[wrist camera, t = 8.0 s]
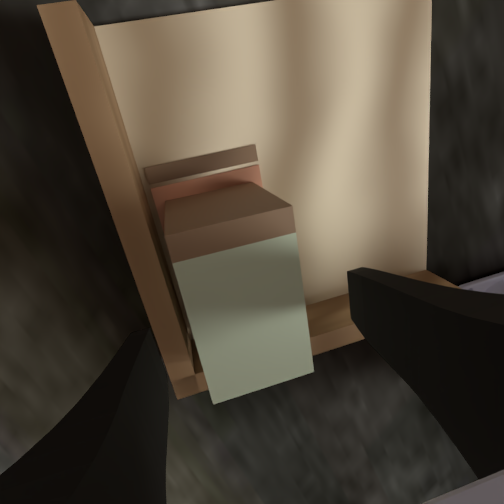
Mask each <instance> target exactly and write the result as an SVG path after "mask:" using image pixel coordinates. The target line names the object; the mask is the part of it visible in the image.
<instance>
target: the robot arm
mask: <svg viewBox="0 0 504 504" xmlns="http://www.w3.org/2000/svg"><path fill="white" fill-rule="evenodd" d="M347 279H348V292H349V304H350V316H351V319H352V321H353V322H354V324H355V325H356V327H357V328H358V330H359V331H360V332H361V334H362V335H363V337H364V338H365V339H366V340H367V341H368V343H369V344H370V345H371V346H372V347H373V348H374V349H375V350H376V351H377V352H378V353H379V354H380V355H381V357H382V358H383V359H384V360H385V361H386V362H387V363H388V364H389V365H390V366H391V367H392V368H393V369H394V370H395V371H396V372H397V373H398V374H399V375H400V376H401V378H402V379H403V380H404V381H405V382H406V383H407V384H408V385H409V386H410V387H411V388H412V390H413V391H414V392H415V393H416V394H417V395H418V397H419V398H420V399H421V400H422V402H423V403H424V404H425V406H426V407H427V408H428V409H429V411H430V412H431V413H432V415H433V416H434V417H435V418H436V420H437V421H438V422H439V424H440V425H441V427H442V428H443V429H444V431H445V432H446V433H447V435H448V436H449V437H450V439H451V440H452V442H453V443H454V444H455V446H456V447H457V448H458V450H459V451H460V453H461V454H462V456H463V457H464V459H465V460H466V461H467V463H468V464H469V466H470V467H471V469H472V470H473V472H474V473H475V474H476V476H477V477H478V479H479V480H477V481H475V482H473V483H470V484H468V485H465V486H463V487H461V488H458V489H456V490H453V491H451V492H448V493H446V494H444V495H441V496H439V497H436V498H434V499H432V500H429V501H427V502H424V503H422V504H504V272H500V273H497V274H494V275H491V276H488V277H484V278H481V279H478V280H475V281H472V282H468V283H465V284H462V285H459V286H458V287H459V288H461V289H459V288H453V287H448V286H443V285H438V284H433V283H428V282H424V281H420V280H416V279H411V278H408V277H404V276H400V275H396V274H392V273H388V272H384V271H380V270H376V269H371V268H366V267H360V268H357V269H353V270H350V271H347ZM168 414H169V396H168V384H167V374H166V372H165V369H164V366H163V363H162V361H161V358H160V355H159V352H158V349H157V347H156V344H155V341H154V338H153V335H152V333H151V330H150V328H146V329H143V330H139V331H136V332H132V333H131V334H130V335H129V336H128V338H127V339H126V340H125V342H124V343H123V345H122V346H121V348H120V349H119V350H118V352H117V353H116V355H115V356H114V357H113V359H112V360H111V361H110V363H109V364H108V365H107V367H106V368H105V370H104V371H103V372H102V374H101V375H100V376H99V377H98V378H97V380H96V381H95V382H94V383H93V385H92V386H91V387H90V388H89V390H88V391H87V392H86V393H85V394H84V396H83V397H82V398H81V399H80V400H79V402H78V403H77V404H76V405H75V406H74V407H73V408H72V409H71V410H70V411H69V412H68V413H67V415H66V416H65V417H64V418H63V419H62V420H61V421H60V422H59V423H58V424H57V425H56V426H55V427H54V428H53V429H52V430H51V431H50V432H49V433H48V434H46V435H45V436H44V437H43V438H42V439H41V440H40V441H39V442H38V443H37V444H35V445H34V446H33V447H32V448H31V449H30V450H29V451H28V452H27V453H26V454H25V455H23V456H22V457H21V458H20V459H19V460H18V461H17V462H15V463H14V464H13V465H12V466H11V467H9V468H8V469H7V470H6V471H5V472H3V473H2V474H1V475H0V504H166V453H167V434H168Z"/></svg>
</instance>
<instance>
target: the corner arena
mask: <svg viewBox="0 0 504 504" xmlns="http://www.w3.org/2000/svg"><path fill="white" fill-rule="evenodd" d="M37 7H38V10H39V13H40V16H41V19H42V21H43V24H44V27H45V30H46V33H47V35H48V38H49V41H50V44H51V47H52V49H53V52H54V55H55V58H56V61H57V63H58V66H59V69H60V72H61V75H62V77H63V80H64V83H65V86H66V89H67V91H68V94H69V97H70V100H71V103H72V105H73V108H74V111H75V114H76V117H77V119H78V122H79V125H80V128H81V131H82V133H83V136H84V139H85V142H86V145H87V147H88V150H89V153H90V156H91V159H92V161H93V164H94V167H95V170H96V173H97V175H98V178H99V181H100V184H101V187H102V189H103V192H104V195H105V198H106V201H107V204H108V206H109V209H110V212H111V215H112V218H113V220H114V223H115V226H116V229H117V232H118V234H119V237H120V240H121V243H122V246H123V248H124V251H125V254H126V257H127V260H128V262H129V265H130V268H131V271H132V274H133V276H134V279H135V282H136V285H137V288H138V290H139V293H140V296H141V299H142V302H143V304H144V307H145V310H146V313H147V316H148V318H149V321H150V324H151V327H152V330H153V332H154V335H155V338H156V341H157V344H158V346H159V349H160V352H161V355H162V358H163V360H164V363H165V366H166V369H167V372H168V374H169V377H170V380H171V383H172V386H173V388H174V391H175V394H176V397H177V400H178V399H181V398H184V397H187V396H190V395H193V394H196V393H199V392H203V391H206V390H209V388H208V385H207V381H206V378H205V374H204V371H203V368H202V364H201V361H200V357H199V354H198V350H197V347H196V343H195V340H194V337H193V333H192V330H191V326H190V323H189V319H188V316H187V312H186V309H185V306H184V302H183V299H182V295H181V292H180V288H179V285H178V281H177V278H176V275H175V271H174V268H173V264H172V261H171V257H170V254H169V251H168V247H167V244H166V240H165V237H164V227H165V201H167V200H172V199H176V198H181V197H185V196H190V195H194V194H199V193H203V192H208V191H212V190H217V189H222V188H226V187H231V186H235V185H240V184H244V183H249V182H253V183H255V184H257V185H259V186H260V187H262V188H264V189H265V190H267V191H269V192H270V193H272V194H274V195H275V196H277V197H279V198H280V199H282V200H284V201H285V202H287V203H289V204H290V205H292V206H293V213H294V220H295V228H296V236H297V243H298V251H299V259H300V267H301V274H302V282H303V290H304V297H305V305H306V313H307V321H308V328H309V336H310V344H311V351H312V356H313V355H316V354H320V353H323V352H326V351H329V350H332V349H335V348H338V347H341V346H344V345H347V344H350V343H353V342H356V341H360V340H363V339H365V338H364V337H363V335H362V334H361V332H360V331H359V330H358V328H357V327H356V325H355V324H354V322H353V321H352V319H351V316H350V304H349V292H348V279H347V271H350V270H353V269H357V268H360V267H366V268H371V269H376V270H380V271H384V272H388V273H392V274H396V275H400V276H404V277H408V278H411V279H416V280H420V281H424V282H428V283H433V284H438V285H443V286H448V287H453V288H459V287H458V286H456V285H454V284H452V283H450V282H448V281H446V280H445V279H443V278H441V277H439V276H437V275H435V274H433V273H431V272H430V271H428V270H426V260H427V211H428V162H429V113H430V64H431V15H432V0H274V1H267V2H260V3H253V4H246V5H239V6H232V7H226V8H219V9H212V10H205V11H198V12H191V13H184V14H177V15H170V16H163V17H156V18H149V19H143V20H136V21H129V22H122V23H115V24H108V25H101V26H93V24H92V23H91V21H90V20H89V19H88V17H87V16H86V14H85V13H84V11H83V10H82V8H81V7H80V6H79V4H78V3H77V1H76V0H73V1H65V2H58V3H50V4H43V5H37ZM459 289H461V288H459Z"/></svg>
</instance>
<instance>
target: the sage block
mask: <svg viewBox="0 0 504 504" xmlns="http://www.w3.org/2000/svg"><path fill="white" fill-rule="evenodd" d="M164 237H165V240H166V244H167V247H168V251H169V254H170V257H171V261H172V264H173V268H174V271H175V275H176V278H177V281H178V285H179V288H180V292H181V295H182V299H183V302H184V306H185V309H186V312H187V316H188V319H189V323H190V326H191V330H192V333H193V337H194V340H195V343H196V347H197V350H198V354H199V357H200V361H201V364H202V368H203V371H204V374H205V378H206V381H207V385H208V388H209V392H210V395H211V398H212V402H213V404H216V403H220V402H223V401H226V400H229V399H232V398H235V397H238V396H241V395H244V394H247V393H250V392H253V391H257V390H260V389H263V388H266V387H269V386H272V385H275V384H278V383H281V382H284V381H287V380H290V379H293V378H297V377H300V376H303V375H306V374H309V373H312V372H314V367H313V359H312V351H311V344H310V336H309V328H308V321H307V313H306V305H305V297H304V290H303V282H302V274H301V267H300V259H299V251H298V243H297V236H296V228H295V220H294V213H293V206H292V205H290V204H289V203H287V202H285V201H284V200H282V199H280V198H279V197H277V196H275V195H274V194H272V193H270V192H269V191H267V190H265V189H264V188H262V187H260V186H259V185H257V184H255V183H253V182H249V183H244V184H240V185H235V186H231V187H226V188H222V189H217V190H212V191H208V192H203V193H199V194H194V195H190V196H185V197H181V198H176V199H172V200H167V201H165V227H164Z"/></svg>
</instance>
